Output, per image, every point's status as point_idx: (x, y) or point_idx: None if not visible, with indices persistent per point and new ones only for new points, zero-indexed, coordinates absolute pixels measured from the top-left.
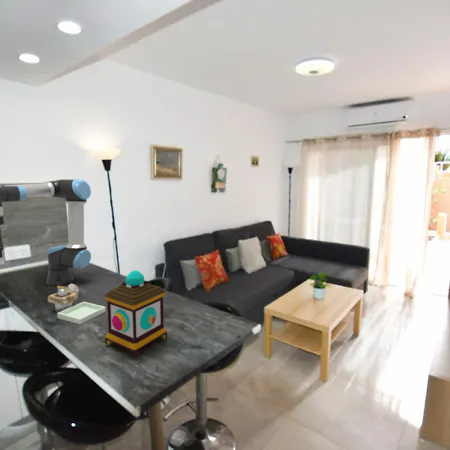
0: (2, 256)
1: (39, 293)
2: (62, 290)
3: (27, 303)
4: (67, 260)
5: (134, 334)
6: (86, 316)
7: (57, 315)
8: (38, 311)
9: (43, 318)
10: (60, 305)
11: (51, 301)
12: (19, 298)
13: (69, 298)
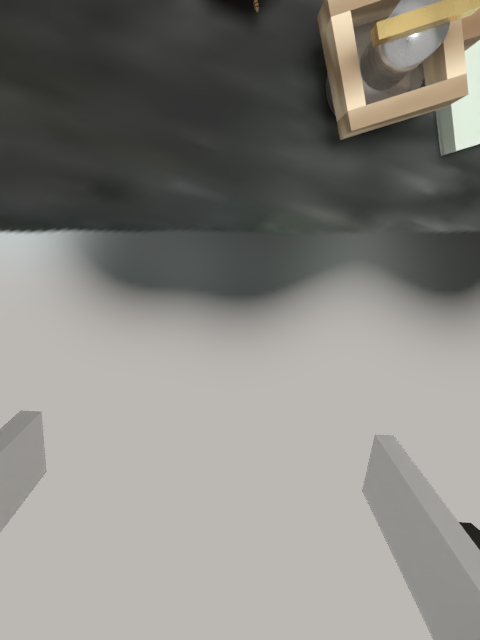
0: (446, 522)
1: (40, 91)
2: (444, 38)
3: (157, 191)
4: None
5: None
6: None
7: (451, 152)
8: (298, 188)
9: (390, 200)
10: None
11: (371, 129)
12: (55, 198)
13: (471, 40)
